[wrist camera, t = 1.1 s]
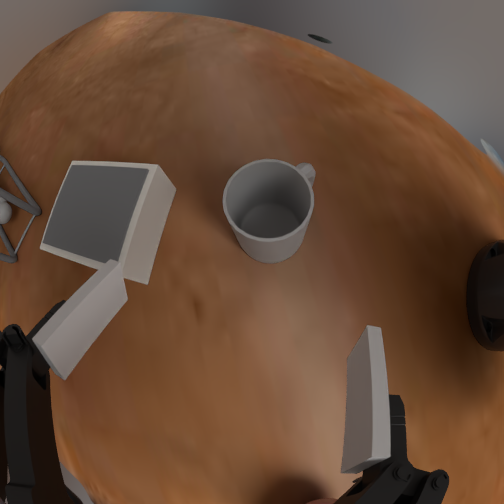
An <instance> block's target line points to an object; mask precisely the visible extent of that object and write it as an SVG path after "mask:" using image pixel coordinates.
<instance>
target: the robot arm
mask: <svg viewBox="0 0 504 504" xmlns="http://www.w3.org/2000/svg"><path fill="white" fill-rule="evenodd" d="M127 300H128V297H127V293H126V288H125V283H124V279H123V273H122V268H121V263H120V262H118V261H115V260H112V259H110V260H109V261H108V262H106V263H105V264H104V265H103V266H102V267H101V268H100V269H99V270H98V271H97V272H96V273H95V274H94V275H93V276H92V277H90V278H89V279H88V280H87V281H86V282H85V283H84V284H83V285H82V286H81V287H80V288H79V289H78V290H77V291H76V292H75V293H74V294H73V295H72V296H71V297H70V298H69V299H68V300H67V301H65V300H63V301H61V302H59V303H57V304H56V305H55V306H54V307H53V308H52V309H51V310H50V311H49V313H47V314H46V315H45V317H44V318H42V319H41V320H40V322H39V323H38V324H37V325H36V326H35V327H34V328H33V329H32V330H31V331H30V333H29V334H28V335H27V336H25V335H24V333H23V331H22V330H21V328H20V326H18V325H17V324H12V325H9V326H7V327H6V328H5V329H4V330H3V332H1V331H0V365H1V366H2V368H1V370H0V504H6V503H5V499H6V497H7V501H8V504H74V502H73V501H72V500H71V499H70V497H69V496H68V494H67V491H66V488H65V484H64V480H63V476H62V473H61V468H60V463H59V458H58V453H57V448H56V442H55V435H54V427H53V419H52V409H51V394H50V374H49V371H48V370H49V368H50V367H51V369H52V370H53V371H54V373H55V374H56V375H58V376H59V377H60V378H62V379H63V380H66V379H67V377H68V376H69V374H70V373H71V372H72V370H73V369H74V367H75V366H76V365H77V363H78V362H79V361H80V359H81V358H82V357H83V355H84V354H85V353H86V351H87V350H88V349H89V347H90V346H91V345H92V344H93V342H94V341H95V340H96V338H97V337H98V336H99V335H100V333H101V332H102V331H103V329H104V328H105V327H106V326H107V324H108V323H109V322H110V321H111V319H112V318H113V317H114V316H115V315H116V313H117V312H118V311H119V310H120V308H121V307H122V306H123V305H124V304H125V302H126V301H127ZM467 310H468V317H469V321H470V325H471V328H472V331H473V333H474V335H475V337H476V339H477V340H478V342H479V343H480V344H481V345H482V346H483V347H484V348H486V349H488V350H492V351H504V240H499V241H496V242H493V243H491V244H489V245H487V246H485V247H483V248H482V249H481V250H480V251H479V253H478V254H477V256H476V257H475V259H474V261H473V264H472V266H471V269H470V273H469V278H468V284H467ZM404 417H405V410H404V404H403V402H402V400H401V398H400V395H389V393H388V381H387V371H386V362H385V354H384V346H383V339H382V332H381V328H380V327H375V326H369V325H367V326H366V328H365V330H364V331H363V333H362V335H361V337H360V338H359V340H358V342H357V343H356V345H355V347H354V348H353V350H352V352H351V353H350V355H349V356H348V358H347V398H346V420H345V434H344V447H343V457H342V466H341V473H354V474H357V473H359V472H361V471H363V476H362V477H360V478H357V479H355V480H354V481H352V482H353V483H355V482H356V483H355V484H354V485H353V486H352V487H351V488H350V489H349V490H348V491H347V492H346V493H344V494H343V495H342V496H341V497H340V498H339V499H338V500H337V501H336V502H334V503H333V504H441V503H442V500H443V498H444V496H445V493H446V491H447V488H448V485H449V476H448V474H447V472H445V471H444V470H440V469H438V470H435V471H433V472H431V473H430V472H427V471H423V470H419V469H416V468H414V467H413V465H412V464H411V463H410V462H409V461H408V458H407V445H406V426H405V424H406V423H405V418H404ZM7 468H9V474H10V482H9V483H8V484H7Z"/></svg>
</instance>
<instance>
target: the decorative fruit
mask: <svg viewBox="0 0 504 504" xmlns="http://www.w3.org/2000/svg"><path fill="white" fill-rule="evenodd" d="M336 501H337V499H332V498H323V499H318V500H314V501H311V502H308V503H306V504H333V503H334V502H336Z"/></svg>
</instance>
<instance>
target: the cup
mask: <svg viewBox="0 0 504 504" xmlns="http://www.w3.org/2000/svg"><path fill="white" fill-rule="evenodd" d="M314 179H315V170H314V168H313V167H312V165H311V164H309V163H300V164H299V165H297V166H296V167H295V166H293V165H291V164H289V163H287V162H284V161H280V160H277V159H263V160H257V161H253V162H251V163H248V164H246V165H244V166H243V167H241V168H240V169H239V170H237V171H236V172H235V173H234V174H233V175H232V177H231V178H230V179H229V180H228V182H227V185H226V187H225V189H224V193H223V208H224V213H225V215H226V217H227V219H228V221H229V223H230V225H231V227H232V229H233V231H234V233H235V235H236V238H237V240H238V242H239V244H240V246H241V247H242V249H243V250H244V251H245V252H246V253H247V254H248V255H249V256H250V257H252V258H253V259H255V260H257V261H260V262H263V263H278V262H282V261H284V260H286V259H288V258H290V257H291V256H292V255H293V254H294V253H296V251H297V250H298V248H299V247H300V245H301V244H302V241H303V238H304V235H305V232H306V229H307V226H308V223H309V220H310V217H311V214H312V211H313V208H314V193H313V190H312V185H313V182H314Z"/></svg>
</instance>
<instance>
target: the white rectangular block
mask: <svg viewBox="0 0 504 504" xmlns="http://www.w3.org/2000/svg"><path fill="white" fill-rule="evenodd" d="M175 192H176V188H175V186H174V185H173V184H172V182H171V181H170V180H169V178H168V177H167V176H166V174H165V173H164V172H163V170H162V169H161V168H160V166H159V165H156V164H143V163H127V162H104V161H72V163H71V165H70V167H69V169H68V172H67V174H66V176H65V178H64V181H63V183H62V185H61V188H60V190H59V193H58V195H57V198H56V200H55V203H54V206H53V208H52V211H51V214H50V217H49V220H48V223H47V226H46V229H45V232H44V235H43V239H42V242H41V245H40V249H42V250H44V251H47V252H50V253H52V254H55V255H58V256H61V257H63V258H66V259H69V260H72V261H74V262H77V263H80V264H83V265H86V266H89V267H92V268H95V269H98V270H99V269H100V268H101V267H102V266H103V265H104V264H105V263H106V262H108V261H109V260H110V259H112V260H115V261H118V262H120V263H121V268H122V273H123V278H126V279H129V280H133V281H136V282H140V283H143V284H147V285H148V282H149V278H150V274H151V271H152V267H153V263H154V260H155V256H156V252H157V249H158V245H159V242H160V239H161V235H162V232H163V229H164V226H165V222H166V219H167V216H168V213H169V210H170V207H171V204H172V201H173V198H174V195H175Z"/></svg>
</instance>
